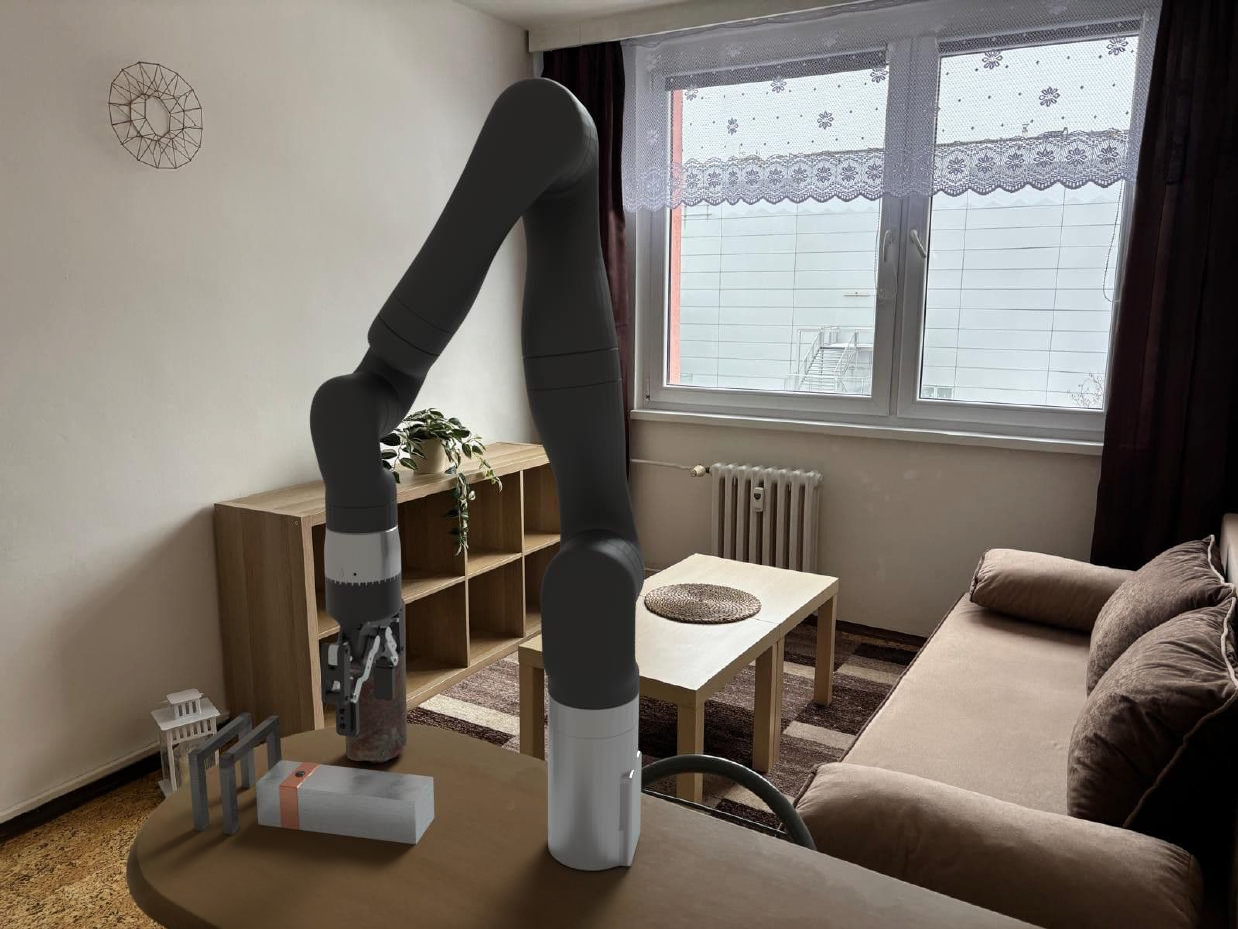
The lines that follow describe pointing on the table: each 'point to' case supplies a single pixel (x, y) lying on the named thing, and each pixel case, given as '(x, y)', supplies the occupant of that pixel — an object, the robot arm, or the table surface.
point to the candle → (381, 718)
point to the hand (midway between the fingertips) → (367, 715)
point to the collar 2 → (235, 753)
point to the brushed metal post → (346, 801)
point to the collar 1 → (198, 772)
